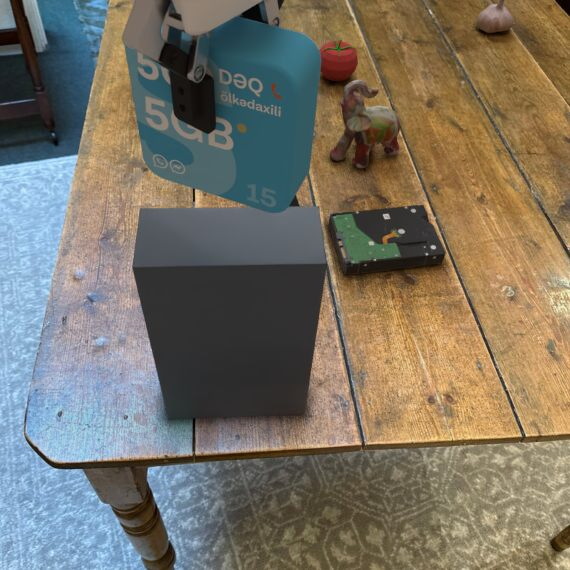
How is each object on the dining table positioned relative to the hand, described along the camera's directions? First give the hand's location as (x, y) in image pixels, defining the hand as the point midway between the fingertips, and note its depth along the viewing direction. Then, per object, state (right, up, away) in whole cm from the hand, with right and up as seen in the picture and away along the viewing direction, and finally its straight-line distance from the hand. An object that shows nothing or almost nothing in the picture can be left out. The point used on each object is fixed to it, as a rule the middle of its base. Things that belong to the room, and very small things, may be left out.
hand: (224, 101), depth 41 cm
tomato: (+14, +28, +76) cm, 82 cm away
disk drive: (+19, -7, +48) cm, 52 cm away
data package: (0, -5, +6) cm, 7 cm away
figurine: (+18, +9, +60) cm, 63 cm away
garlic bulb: (+50, +43, +90) cm, 112 cm away
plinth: (-2, -25, +31) cm, 40 cm away
